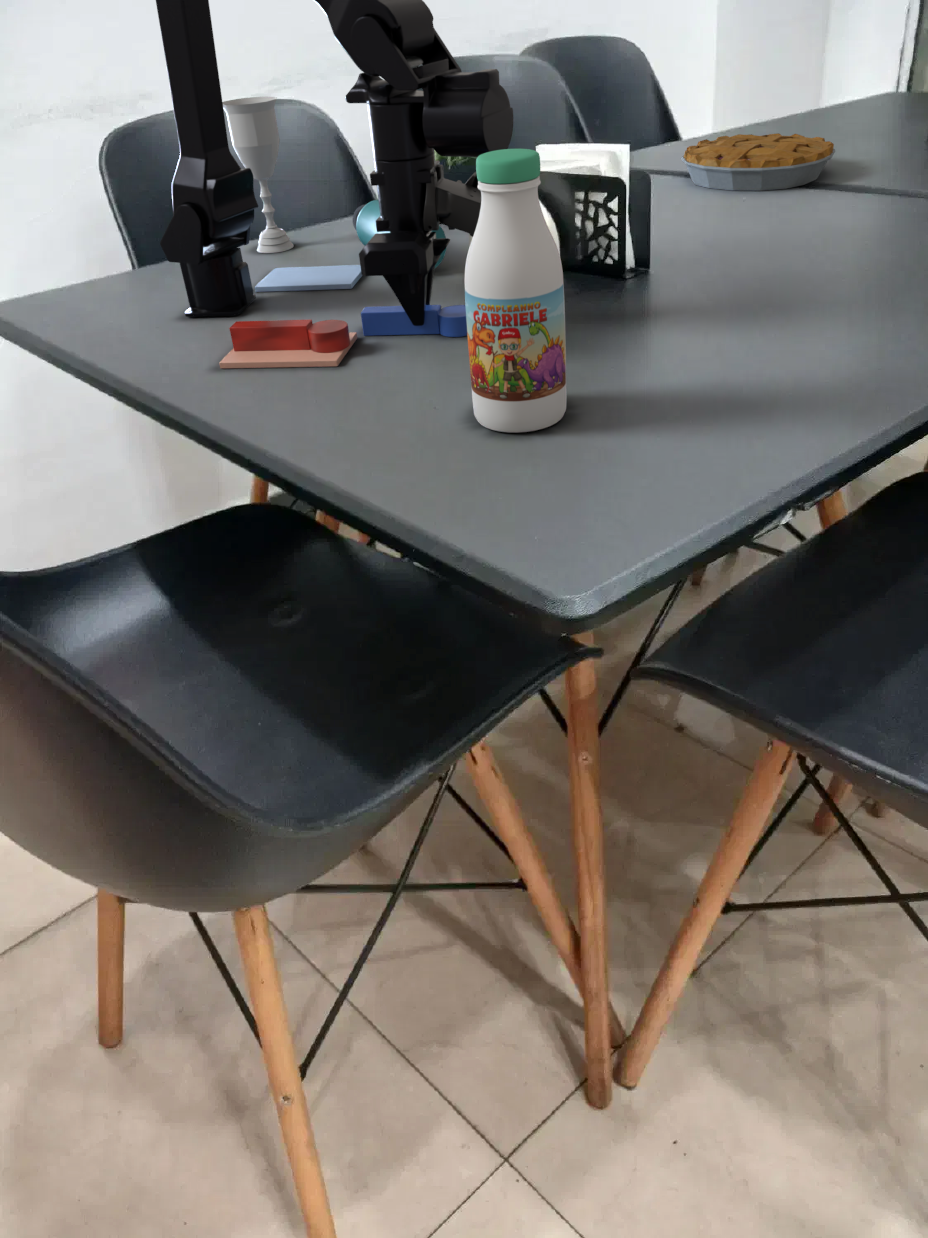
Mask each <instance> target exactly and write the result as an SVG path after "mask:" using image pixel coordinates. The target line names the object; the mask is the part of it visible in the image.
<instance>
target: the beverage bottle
mask: <svg viewBox="0 0 928 1238" xmlns="http://www.w3.org/2000/svg"><path fill="white" fill-rule="evenodd" d="M379 216H380V209H379V201H378V199H374V200H371V201H369V202H368V203H365V204H362V205H360V206H358V207H357V208H356V209H355V211H354V212H353V215H352V226H353V228H354V230H355V231H356V235H357V237H358V239H359V241H360V242H361V244H362V245H363V246H364V247H365V245H366V244H367V243H368V242H369V241H370V239H371V238H372V237H373V236H374V235H375V234H376V233H390V231H385V232H377V229H376V220H377V219H378V218H379ZM441 225H442V224H439V229H438V230H437V231H432V232H436V239H438V238H447V237H446V233H445V230H444V229H443V227H442V226H441ZM447 247H448V246H447ZM447 247H446V249H445V250H444V251H443V252H442V254H441V256H440V258H439V260H438V262H437V263H436V265H435V269H436V268H437V267H438V266H440V264H441V263H442V262H443V260H444V259H445V256H446V253H447Z"/></svg>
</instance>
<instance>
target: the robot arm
mask: <svg viewBox="0 0 928 1238" xmlns="http://www.w3.org/2000/svg"><path fill="white" fill-rule="evenodd" d="M313 2H315V4H317V5H318V7H319V8H320V10H322V12H323V13H324V14H325V16H326V17H327V20H328V23H329V25H330V28H331V30H332V33H333V37H334V38H335V40H336V41H337V42H338V44H339V45H340V46H341V48H342V49H343V50H344V52H345V53H346V54H347V55H348V57H349V58H350V59H351V61H352V62H353V63H354V65H356V67H357V68H358V69H359V70H360V71H361V73H359V74H358V76H357V80H356V81H355V84H354V85H353V86H352V87H351V88H350V90H349V91H348V92H347V93H346V94H345V97H344V99H345V101H346V103H347V104H366V107H367V117H368V126H369V132H370V142H371V148H372V157H373V167H374V170H372V172H370V174H369V179H370V186H371V187H373V186H374V187H375V186H376V192H377V200H378V201H379V209H380V216H379V218H378V219H377V220H376V229H377V232H385V231H390V233H376V234H375V235H374V236H373V237H372V238H371V239H370V241H369V242H368V243H367V244H366V245H365V246H364V247H363V248H362V249H361V250H360V252H359V253H358V257H359V265H360V266H361V274H362V276H365V277H377V276H378V277H379V276H381V277H383V278H384V280H385V281H386V283H387V285H388V286H389V287H390V289H391V290H392V292H393V294H394V296H395V297H396V298H397V300H398V302H399V303H400V306H402V307H403V309H404V310H405V312H406V314H407V316H408V317H409V319H410V321H411V322H412V324H413V325H414V326H422V325H424V321H425V308H426V305H431V300H432V292H433V283H434V275H435V269H436V268H435V265H436V263H437V262H438V260H439V258H440V256H441V254H442V252H443V251H444V250H445V249H446V250H447V248H446V247H448V246H449V244H450V243H451V238H450V237H449V238H448V237H446V238H438V239H436V232H432V231H437V230H438V229H439V225H443V226H446V227H447V228H448V230H449V231H454V230H458V231H461V232H463V233H467V234H469V236H470V237H472V238H473V236H474V233H475V230H476V226H477V223H478V219H479V214H480V208H481V191H480V190H479V189H478V179H477V173H476V171H475V172H473V174H472V175H470V177H469V178H467V181H466V182H465V183H464V182H462V180H459V179H458V180H457V181H454V180H451V179H448V178H445V175H444V165H443V164H441V163H440V160H436V155H435V153H436V154H437V155H439V156H440V157H454V158H455V157H457V158H458V157H460V158H477V157H478V156H479V155H481V154H484V153H487V152H491V151H496V150H503V149H509V147H510V144H511V141H512V137H513V130H514V109H513V107H511V103H510V99H509V96H508V93H507V92H506V89H505V88H504V87H503V86H502V85H501V84H500V71H499V70H498V69H497V68H487V69H485V68H484V69H481V70H478V71H467V72H466V71H465V72H463V71H462V69H461V67H460V66H459V64H458V63H457V61H456V59H455V58H454V57H453V55H452V52H450V50H449V49H448V47H447V46H446V44H445V43H444V41H443V40H442V38H441V36H440V35H439V34H438V33H439V32H438V31H437V30H436V29H435V27H434V16H433V13H432V11H431V9H430V8H429V6H428V5H427V4H426V2H425V1H424V0H313ZM155 5H156V11H157V16H158V23H159V28H160V36H161V41H162V47H163V53H164V54H163V55H164V58H165V59H164V60H165V65H166V71H167V78H168V83H169V89H170V96H171V102H172V108H173V114H174V120H175V127H176V132H177V139H178V144H179V152H180V153H179V154H180V155H179V159H178V161H177V165H176V169H175V172H174V175H173V178H172V182H171V199H172V214H173V216H172V218H171V220H170V222H169V224H168V226H167V227H166V229H165V231H164V233H163V236H162V237H161V239H160V242H159V245H160V247H161V249H162V251H163V253H164V255H165V258H166V260H167V262H169V263H176V264H177V263H178V264H179V267H180V271H181V275H182V279H183V282H184V283H183V284H184V288H185V292H186V296H187V301H188V305H189V308H188V309H186V310H185V311H184V316H185V317H187V318H191V317H193V318H194V317H195V318H196V317H224V316H225V317H227V316H238V315H240V314H241V313H242V312H244V311H245V310H246V309H247V308H248V307H249V306H250V305H251V304H252V303H253V302H254V301H255V300H256V299H257V295H256V294H255V293H254V289H253V284H252V279H251V274H250V268H249V264H248V263H247V262H246V261H244V260H243V255H242V249H241V247H242V246H247V245H249V244H250V237H251V236H250V235H251V225H252V224H253V223H254V220H255V209H258V207H259V203H258V201H257V199H256V196H255V195H256V194H255V190H254V189H255V188H254V179H253V173H252V171H251V169H250V168H245V167H244V168H241V165H240V164H239V163H238V162H237V160H236V159H235V157H234V156H233V154H232V152H231V151H230V150H231V149H230V146H229V141H228V139H229V138H228V133H227V125H226V120H225V119H226V118H225V111H224V109H223V103H222V102H223V97H222V90H221V82H220V74H219V68H218V67H219V66H218V60H217V51H216V44H215V37H214V31H213V30H214V29H213V23H212V16H211V15H212V14H211V9H210V2H209V0H155Z"/></svg>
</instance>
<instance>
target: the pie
mask: <svg viewBox="0 0 928 1238" xmlns="http://www.w3.org/2000/svg"><path fill="white" fill-rule="evenodd" d="M834 147H835V144H834V142H831V141H830V140H829V141H828V140H827V141H826V139H825V137H820V136H815V137H807V136H805V135H801V134H798V133H794V134H791V135H782V134H781V133H778V132H777V133H769V134H763V135H756V134H755V135H754V134H753V133H752V134H741V133H739V134H736V135H732V136H728V135H721V136H717V137H716V139H715V140H709V139H708V138H706V139H703V140H699V141H698V142H697V144H696V145H688V146H687V147H686V150H684V154H683V155H682V156H681V158H680V159H681V161H682V162H683V163H684V164H685V166H686V169H687V171H688V173H689V177H690V179H691V181H692V182H693V184H694V185H695V186H699V187H703V188H707V189H716V190H724V191H725V190H726V191H751V192H753V191H755V192H756V191H758V192H759V191H762V192H763V191H774V190H776V191H777V190H786V189H791V188H795V187H800V186H804V185H807V184H809V183H812V182H814V181H817V179H818V178H819V176H820V174H821V173H822V171H823V169H824V168H825V166H826V164H827V162H828V161H830V160H831V159H832V158H833V157H834V155H835V153H836V149H835V148H834Z"/></svg>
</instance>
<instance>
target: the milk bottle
mask: <svg viewBox="0 0 928 1238" xmlns="http://www.w3.org/2000/svg"><path fill="white" fill-rule="evenodd" d="M475 170H476V171H475V172H476V173H477V179H478V189H479V190H480V191H481V208H480V214H479V219H478V223H477V226H476V230H475V233H474V236H473V237H472V239H471V240H470V243H469V248H468V251H467V255H466V259H465V266H464V300H465V301H464V305H465V306H466V320H467V347H468V360H469V373H470V384H471V398H472V399H471V400H472V407H473V415H474V418H475V419H476V421H477V422H478V423H479V424H480V426H482V427H484V428H486V429H489V430H492V431H496V432H502V433H527V432H528V433H529V432H535V431H538V430H543V429H547V428H548V427H551V426H553V425H555V424H557V423H559V421H561V420H562V419H563V417H564V416H565V412H566V411H567V400H568V399H567V396H568V395H567V349H566V346H567V344H566V312H565V311H566V309H565V307H566V306H565V305H566V304H565V288H564V287H565V285H564V272H563V265H562V260H561V256H560V255H561V254H560V252H559V248H558V246H557V243H556V241H555V238H554V236H553V234H552V232H551V230H550V228H549V226H548V224H547V222H546V218H545V216H544V213H543V211H542V206H541V203H540V199H539V192H538V191H539V190H538V189H539V186H540V185H541V184H542V181H541V177H540V175H541V157H540V153H539V152H538V151H537V150H534V149H530V148H508V149H503V150H496V151H491V152H487V153H484V154H481V155H479V156H478V157H476V159H475Z"/></svg>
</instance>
